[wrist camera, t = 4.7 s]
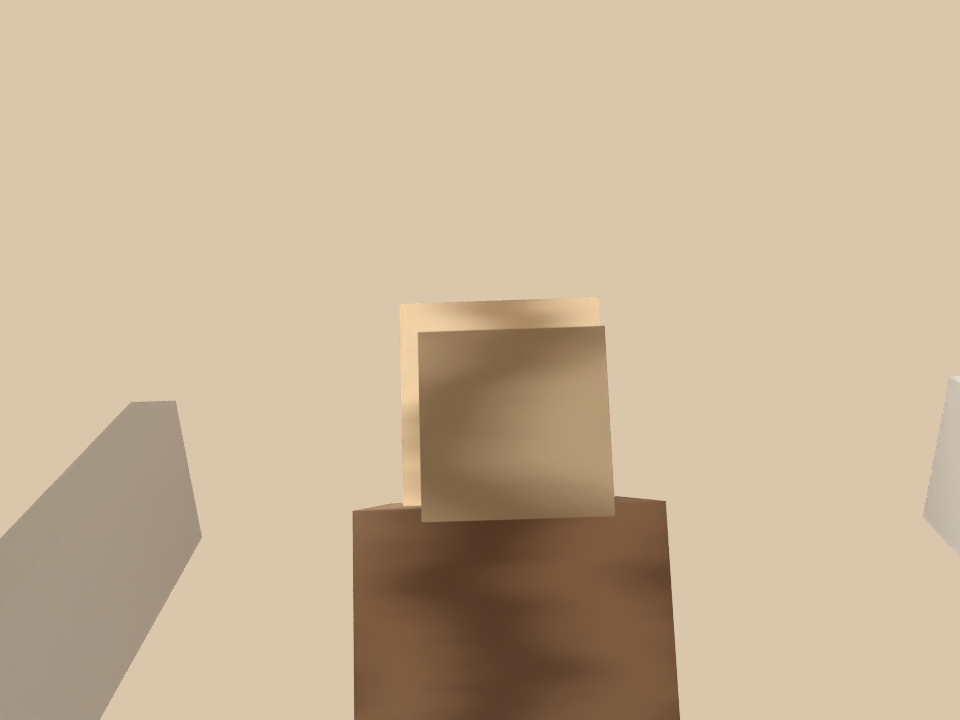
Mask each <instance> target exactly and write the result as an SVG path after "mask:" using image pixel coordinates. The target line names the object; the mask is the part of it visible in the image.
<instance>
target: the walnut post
mask: <svg viewBox="0 0 960 720" xmlns="http://www.w3.org/2000/svg"><path fill="white" fill-rule="evenodd" d="M614 504H615V516H606V517H575V518H543V519H512V520H480V521H449V522H422V519H421V506H403V503H397V504H387V505H382V506H376V507H371V508H366V509H362V510H356V511H353V599H354V600H353V601H354V602H353V605H354V607H353V608H354V720H680V715H679V714H680V713H679V698H678V684H677V668H676V652H675V637H674V623H673V622H674V621H673V607H672V591H671V576H670V560H669V546H668V529H667V515H666V501H659V500H649V499H639V498H628V497H619V496H617V497H614Z"/></svg>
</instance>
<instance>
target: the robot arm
mask: <svg viewBox="0 0 960 720" xmlns="http://www.w3.org/2000/svg"><path fill="white" fill-rule="evenodd" d="M923 517H924V518H925V519H926V520H927V521H928V523H929V524H930V525H931V526H932V527H933V528H934V529H935V530H936V531H937V532H938V534H939V535H941V537H942V538H943V539H944V540H945V541H946V542H947V543H948V544H949V545H950V546H951V548H952V549H953V550H954V551H955V552H956V553H957V554H958V555H959V557H960V376H950V378H949V383H948V388H947V393H946V399H945V404H944V409H943V414H942V420H941V425H940V430H939V435H938V440H937V446H936V451H935V456H934V461H933V467H932V472H931V477H930V483H929V487H928V492H927V498H926V503H925V508H924V514H923ZM201 538H202V536H201V531H200V526H199V521H198V515H197V510H196V505H195V500H194V495H193V490H192V485H191V479H190V474H189V469H188V463H187V458H186V453H185V448H184V443H183V437H182V433H181V427H180V422H179V417H178V411H177V406H176V401H156V402H131V403H130V404H129V405H128V406H127V407H126V408H125V409H124V410H123V411H122V412H121V413H120V415H118V416H117V417H116V419H115V420H114V421H113V422H112V423H111V424H110V425H109V426H108V427H107V428H106V429H105V430H104V431H103V432H102V433H101V434H100V435H99V436H98V437H97V438H96V439H95V440H94V441H93V442H92V444H91V445H90V446H89V447H88V448H87V449H86V450H85V451H84V452H83V453H82V454H81V455H80V456H79V457H78V458H77V459H76V460H75V461H74V462H73V463H72V464H71V466H69V468H68V469H67V470H66V471H65V472H64V473H63V474H62V475H61V476H60V477H59V478H58V479H57V480H56V481H55V482H54V483H53V484H52V485H51V486H50V487H49V488H48V489H47V490H46V491H45V492H44V494H43V495H42V496H41V497H40V498H39V499H38V500H37V501H36V502H35V503H34V504H33V505H32V506H31V507H30V508H29V509H28V510H27V511H26V512H25V513H24V515H23V516H22V517H21V518H20V519H19V520H18V521H17V522H16V523H15V524H14V525H13V526H12V527H11V528H10V529H9V530H8V531H7V532H6V533H5V534H4V535H3V536H2V538H1V539H0V720H100V718H101V716H102V715H103V713H104V711H105V709H106V707H107V706H108V704H109V702H110V700H111V698H112V697H113V695H114V693H115V691H116V690H117V688H118V686H119V684H120V682H121V680H122V679H123V677H124V675H125V673H126V672H127V670H128V668H129V666H130V665H131V663H132V661H133V659H134V657H135V656H136V654H137V652H138V650H139V649H140V647H141V645H142V643H143V641H144V640H145V638H146V636H147V634H148V632H149V631H150V629H151V627H152V625H153V624H154V622H155V620H156V618H157V616H158V615H159V613H160V611H161V609H162V607H163V606H164V604H165V602H166V600H167V599H168V597H169V595H170V593H171V591H172V589H173V588H174V586H175V584H176V583H177V581H178V579H179V577H180V575H181V573H182V571H183V570H184V568H185V566H186V564H187V563H188V561H189V559H190V558H191V556H192V554H193V552H194V550H195V549H196V547H197V545H198V543H199V541H200V540H201Z"/></svg>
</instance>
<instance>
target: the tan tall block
mask: <svg viewBox="0 0 960 720" xmlns="http://www.w3.org/2000/svg"><path fill="white" fill-rule="evenodd" d="M400 348H401V406H402V458H403V459H402V462H403V463H402V464H403V506H421V519H422V522H449V521H480V520H512V519H543V518H575V517H606V516H615V504H614V487H613V470H612V469H613V468H612V451H611V432H610V414H609V398H608V378H607V362H606V343H605V327H604V326H600V310H599V297H593V298H566V299H565V298H564V299H536V300H535V299H534V300H509V301H508V300H507V301H476V302H451V303H450V302H448V303H420V304H400Z"/></svg>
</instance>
